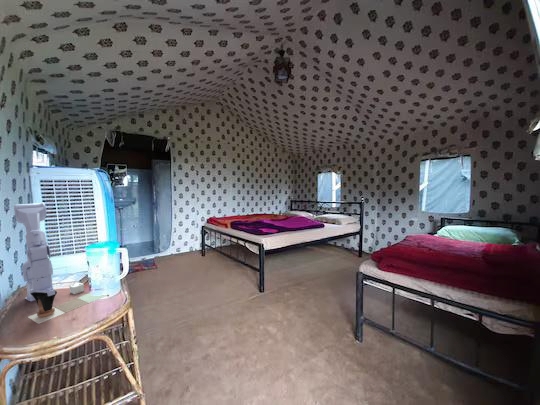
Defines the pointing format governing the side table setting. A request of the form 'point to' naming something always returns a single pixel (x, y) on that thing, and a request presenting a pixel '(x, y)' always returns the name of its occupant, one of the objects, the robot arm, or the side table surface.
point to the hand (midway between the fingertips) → (45, 308)
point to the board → (66, 307)
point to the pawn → (41, 310)
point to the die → (76, 288)
